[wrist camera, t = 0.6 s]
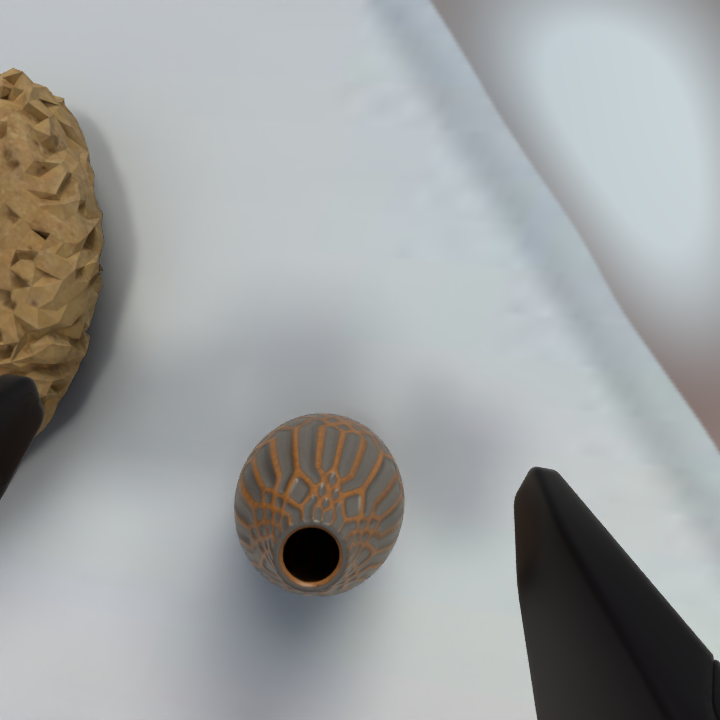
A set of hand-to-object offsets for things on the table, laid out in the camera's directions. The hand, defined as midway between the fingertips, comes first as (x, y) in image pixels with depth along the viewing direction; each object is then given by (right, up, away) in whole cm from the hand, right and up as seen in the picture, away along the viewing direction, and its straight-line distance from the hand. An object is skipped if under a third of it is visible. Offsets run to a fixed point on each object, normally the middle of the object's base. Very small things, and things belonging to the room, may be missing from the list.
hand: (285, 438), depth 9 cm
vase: (0, -4, +15) cm, 16 cm away
